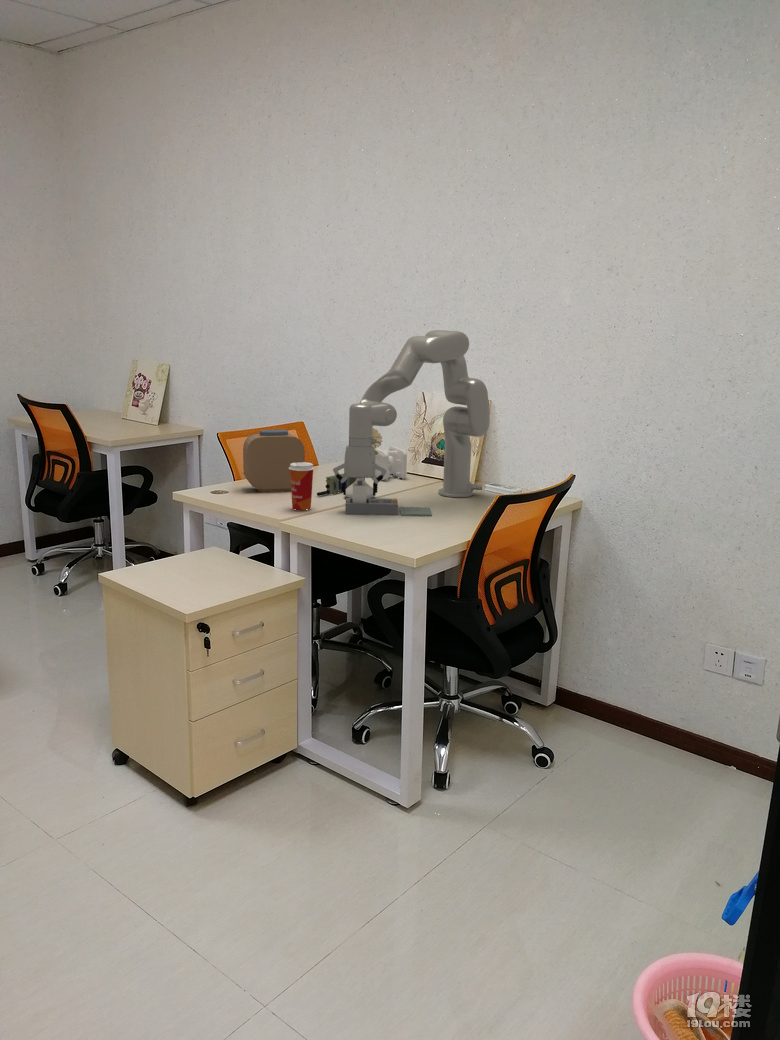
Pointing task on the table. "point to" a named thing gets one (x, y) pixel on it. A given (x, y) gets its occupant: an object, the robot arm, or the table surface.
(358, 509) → the power strip
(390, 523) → the table surface
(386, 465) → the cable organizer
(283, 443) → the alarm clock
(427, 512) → the mat
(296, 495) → the coffee cup
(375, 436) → the flower in vase
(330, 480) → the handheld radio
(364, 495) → the block
